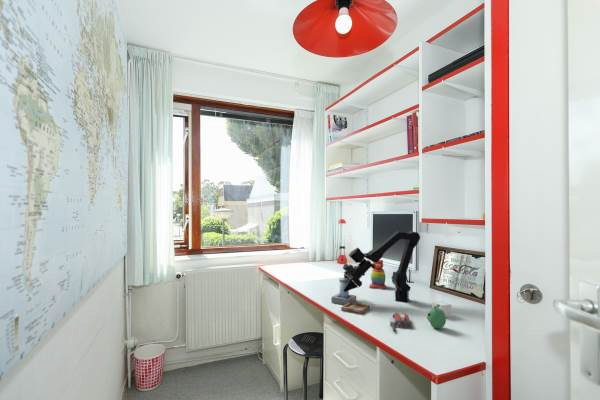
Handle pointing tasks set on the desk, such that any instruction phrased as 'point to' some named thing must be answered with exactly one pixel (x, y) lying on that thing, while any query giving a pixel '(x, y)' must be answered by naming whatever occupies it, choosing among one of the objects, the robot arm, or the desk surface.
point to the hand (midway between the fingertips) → (342, 289)
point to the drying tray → (355, 307)
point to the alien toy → (436, 317)
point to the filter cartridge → (343, 284)
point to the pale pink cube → (443, 307)
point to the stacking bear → (378, 276)
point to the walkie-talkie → (400, 321)
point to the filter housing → (343, 299)
